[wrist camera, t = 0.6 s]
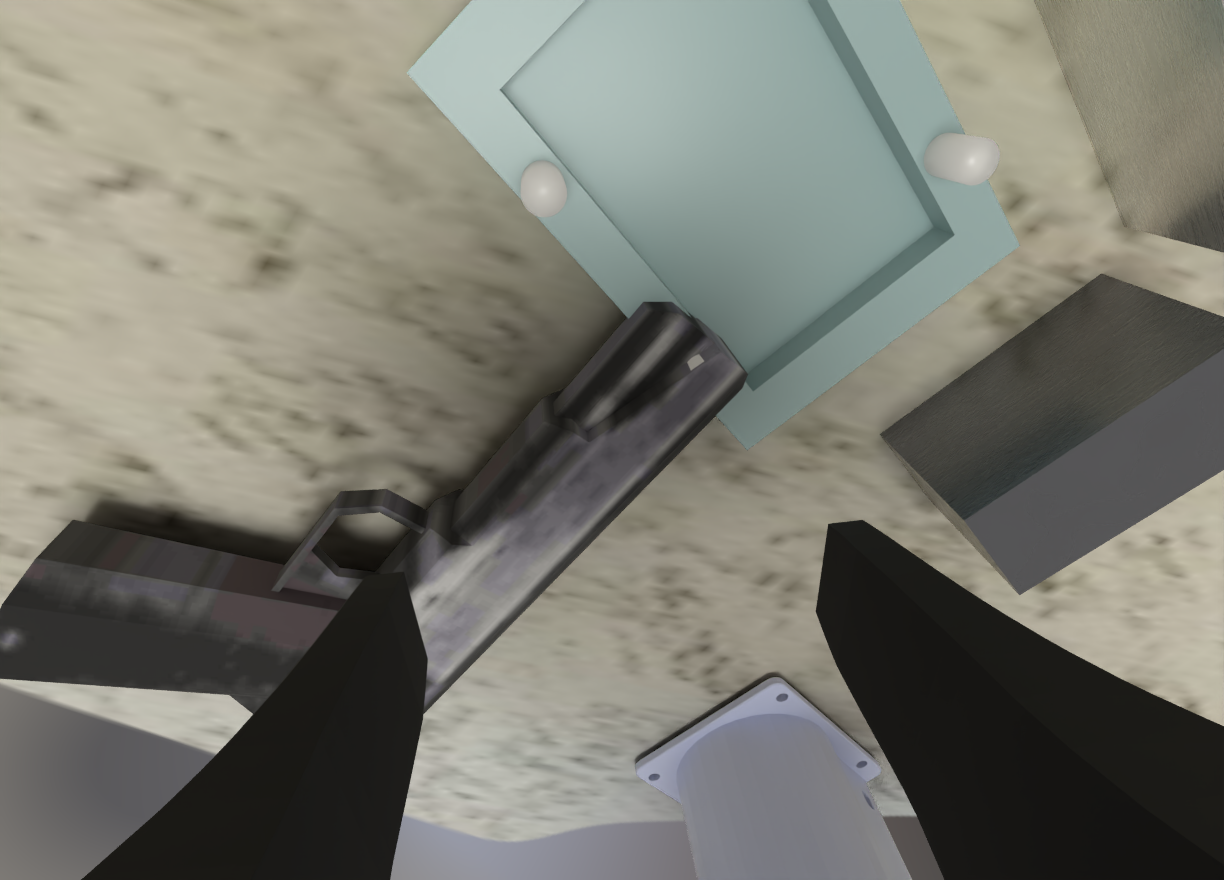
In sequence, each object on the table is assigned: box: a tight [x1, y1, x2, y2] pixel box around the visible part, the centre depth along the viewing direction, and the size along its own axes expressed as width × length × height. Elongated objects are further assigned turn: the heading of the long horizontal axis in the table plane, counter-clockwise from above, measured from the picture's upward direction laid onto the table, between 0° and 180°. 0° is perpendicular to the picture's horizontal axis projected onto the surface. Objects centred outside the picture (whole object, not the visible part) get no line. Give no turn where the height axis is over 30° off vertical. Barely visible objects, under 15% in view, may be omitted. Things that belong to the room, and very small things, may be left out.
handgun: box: [0, 302, 748, 714], centre depth 19 cm, size 3×21×12 cm
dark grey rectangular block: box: [880, 274, 1224, 595], centre depth 20 cm, size 8×4×5 cm, turn 131°
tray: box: [407, 0, 1020, 450], centre depth 16 cm, size 13×9×3 cm
